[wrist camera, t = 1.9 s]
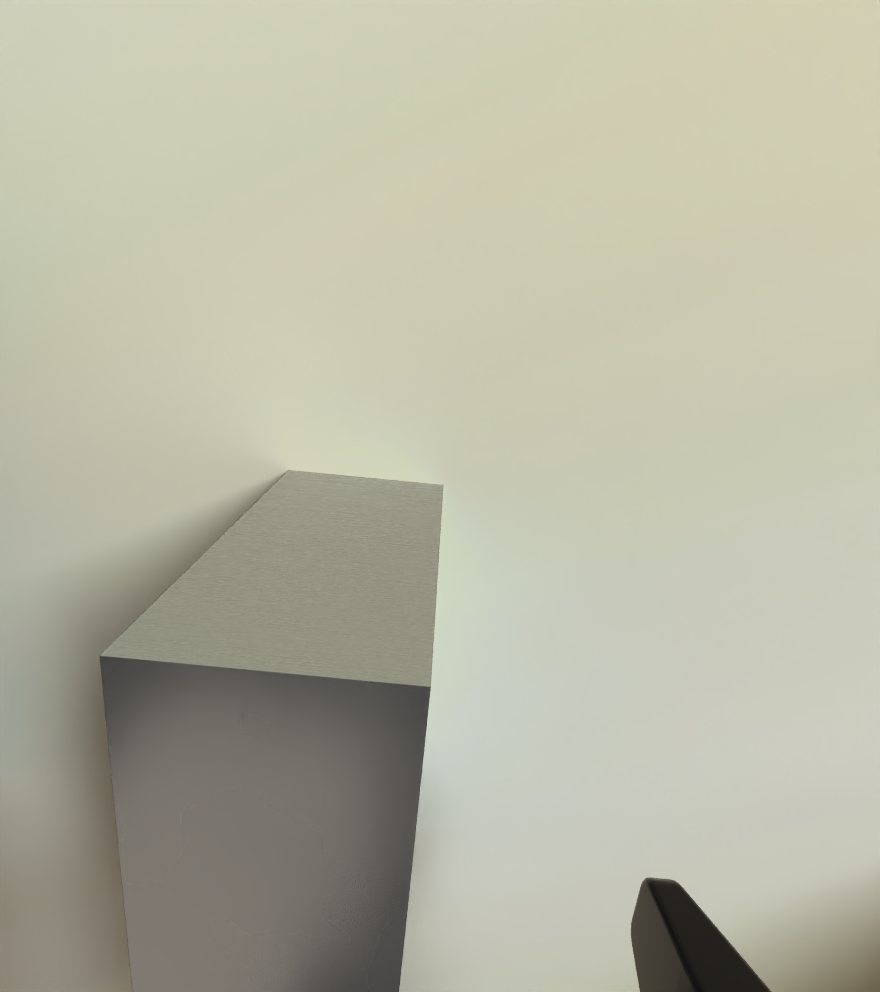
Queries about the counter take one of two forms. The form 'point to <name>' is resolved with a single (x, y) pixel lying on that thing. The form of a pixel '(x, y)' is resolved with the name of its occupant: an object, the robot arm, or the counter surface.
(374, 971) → the grey rectangular block
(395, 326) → the counter surface
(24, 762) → the counter surface
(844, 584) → the counter surface
